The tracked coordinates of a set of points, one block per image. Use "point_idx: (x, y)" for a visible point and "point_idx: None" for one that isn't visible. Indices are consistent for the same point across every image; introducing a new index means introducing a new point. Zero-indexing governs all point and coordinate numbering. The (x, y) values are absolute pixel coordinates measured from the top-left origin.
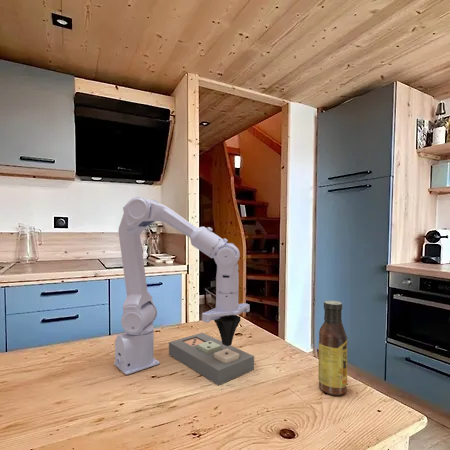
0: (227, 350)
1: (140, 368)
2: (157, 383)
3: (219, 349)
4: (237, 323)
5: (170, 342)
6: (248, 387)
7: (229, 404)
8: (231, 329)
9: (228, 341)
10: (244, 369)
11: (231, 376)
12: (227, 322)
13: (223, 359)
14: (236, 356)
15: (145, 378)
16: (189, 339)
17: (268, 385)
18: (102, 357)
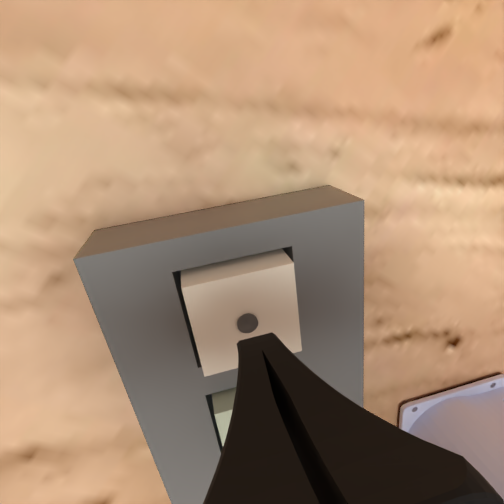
0: (219, 353)
1: (467, 390)
2: (471, 299)
3: (225, 395)
4: (233, 501)
5: None
6: (224, 92)
7: (385, 19)
8: (286, 434)
9: (283, 349)
10: (167, 222)
11: (258, 203)
12: (488, 487)
13: (292, 276)
14: (205, 278)
15: (476, 340)
16: None
17: (111, 40)
18: None
